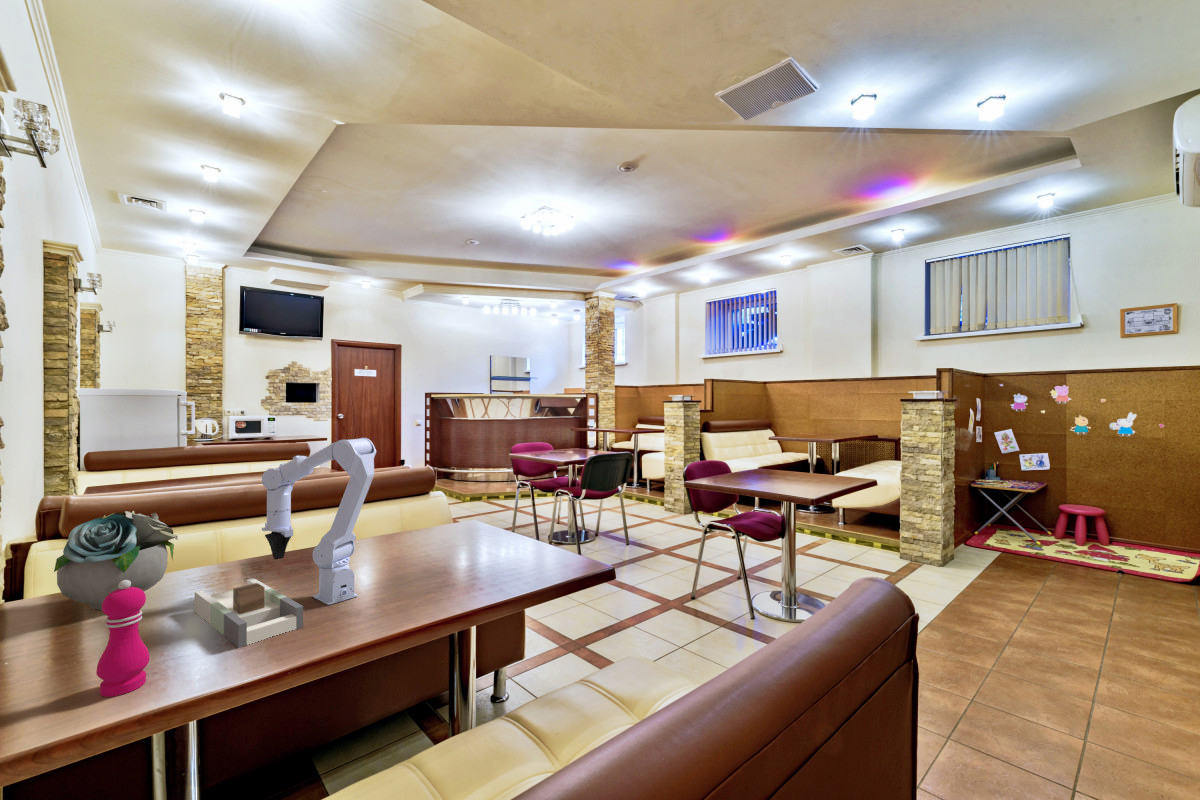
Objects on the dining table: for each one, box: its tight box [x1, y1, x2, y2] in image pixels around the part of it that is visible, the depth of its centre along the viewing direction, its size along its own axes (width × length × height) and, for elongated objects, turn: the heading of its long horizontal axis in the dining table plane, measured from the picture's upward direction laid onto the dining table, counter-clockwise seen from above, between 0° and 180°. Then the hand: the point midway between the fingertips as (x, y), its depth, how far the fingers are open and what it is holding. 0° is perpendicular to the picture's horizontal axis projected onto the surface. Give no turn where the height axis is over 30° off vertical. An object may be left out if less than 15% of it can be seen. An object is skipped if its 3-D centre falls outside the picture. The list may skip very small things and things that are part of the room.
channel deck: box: [193, 577, 304, 649], centre depth 124 cm, size 32×13×5 cm, turn 52°
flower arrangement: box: [53, 510, 179, 611], centre depth 133 cm, size 25×25×24 cm
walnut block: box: [232, 583, 264, 614], centre depth 123 cm, size 5×5×5 cm
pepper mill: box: [95, 580, 150, 698], centre depth 94 cm, size 7×7×20 cm
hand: (278, 558), depth 142 cm, fingers closed
